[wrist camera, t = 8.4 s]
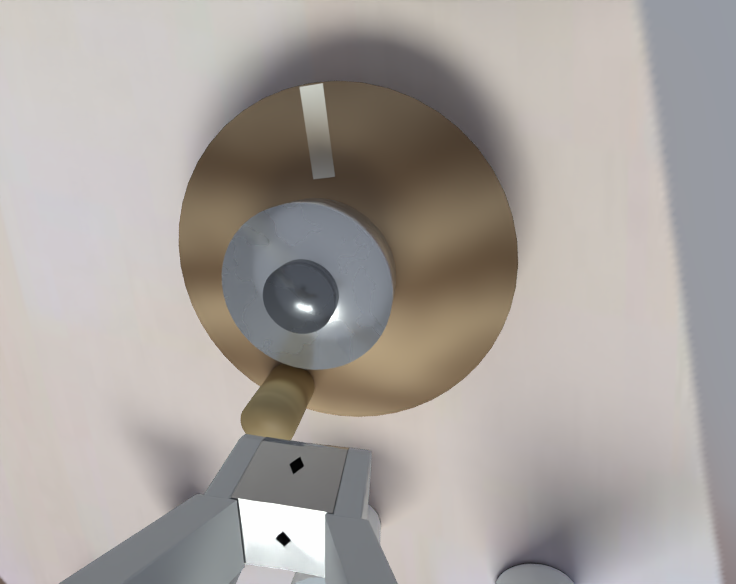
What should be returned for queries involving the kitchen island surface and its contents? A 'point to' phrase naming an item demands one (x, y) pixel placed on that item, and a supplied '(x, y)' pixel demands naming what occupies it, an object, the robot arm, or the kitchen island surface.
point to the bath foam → (533, 575)
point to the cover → (310, 283)
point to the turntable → (392, 217)
